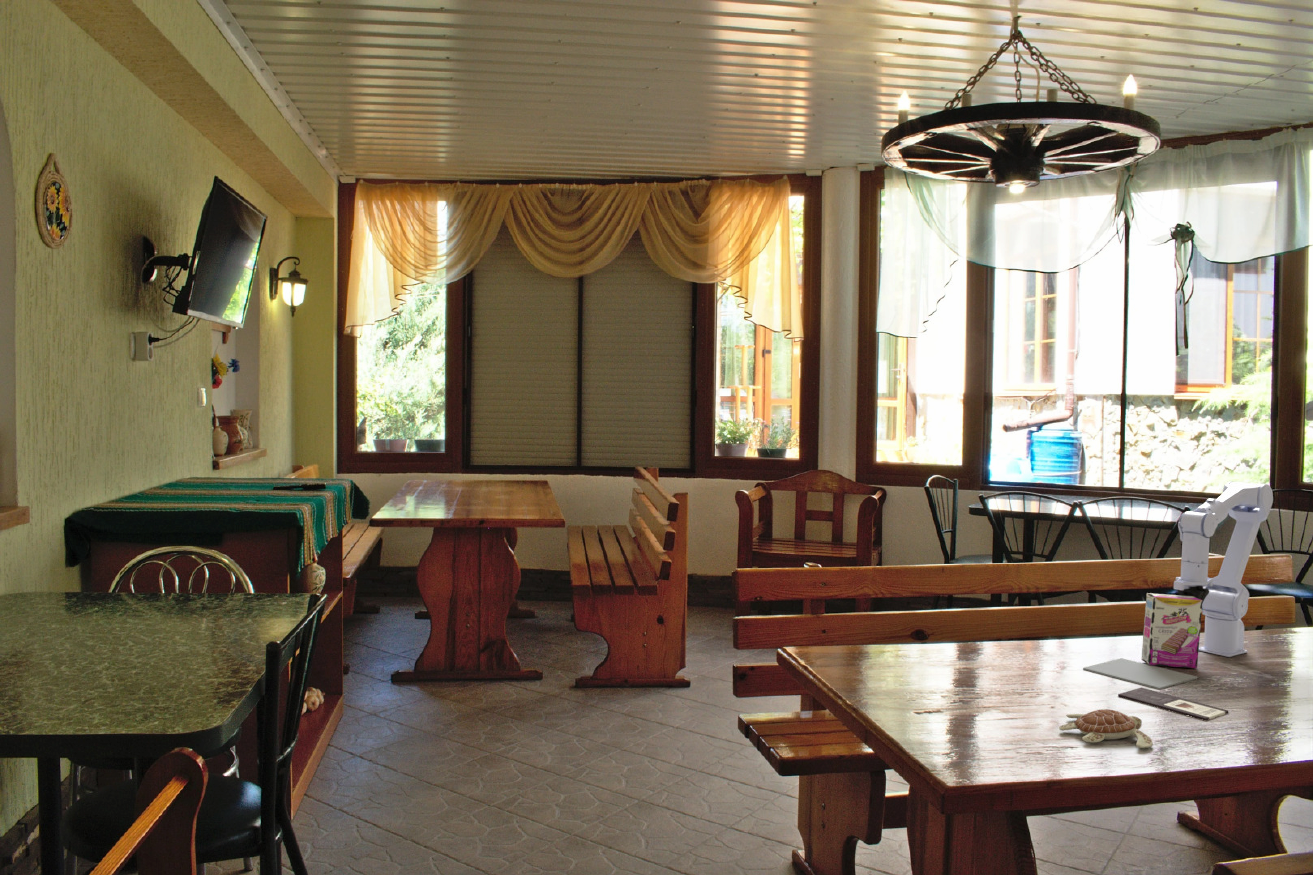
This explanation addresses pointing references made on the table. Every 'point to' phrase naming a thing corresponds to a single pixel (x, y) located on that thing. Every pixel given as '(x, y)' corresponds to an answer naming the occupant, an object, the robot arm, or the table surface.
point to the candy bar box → (1171, 630)
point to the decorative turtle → (1108, 726)
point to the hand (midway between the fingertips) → (1191, 617)
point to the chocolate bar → (1173, 703)
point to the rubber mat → (1140, 673)
